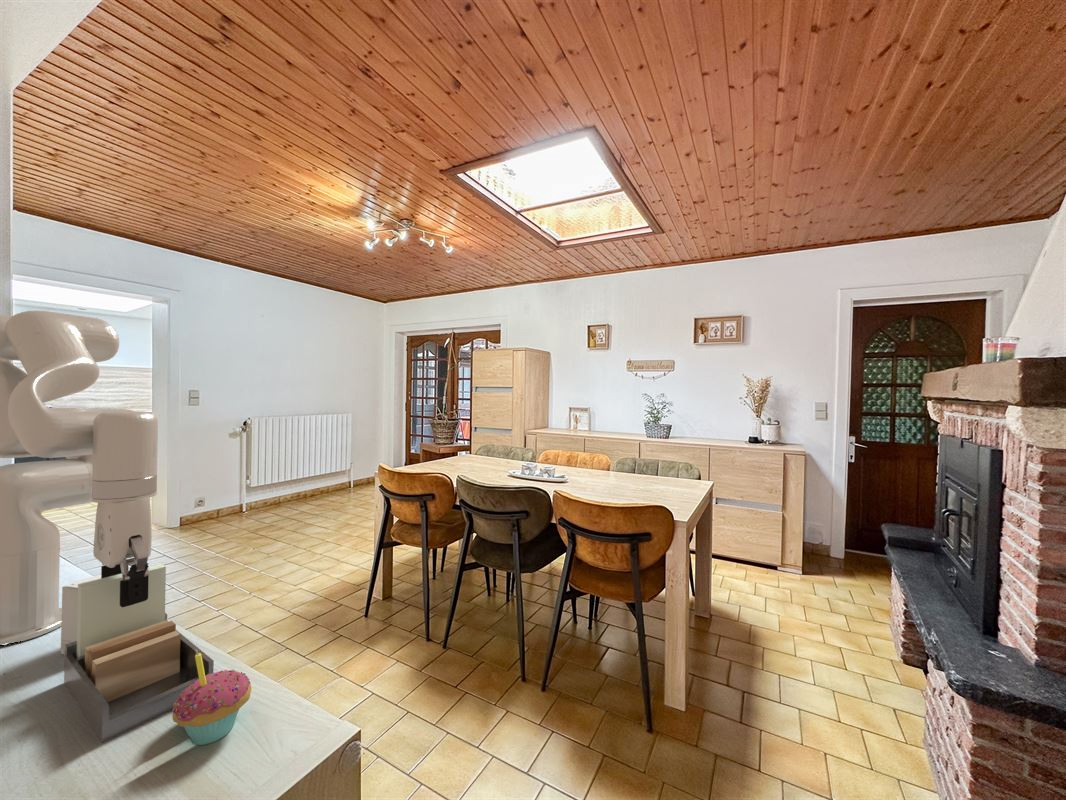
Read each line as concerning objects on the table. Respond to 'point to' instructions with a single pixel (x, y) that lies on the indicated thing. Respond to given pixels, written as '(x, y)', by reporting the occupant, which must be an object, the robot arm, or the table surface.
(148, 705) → the bin
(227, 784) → the table surface
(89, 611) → the grey flat panel
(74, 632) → the supplement box
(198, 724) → the cupcake
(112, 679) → the offcuts
